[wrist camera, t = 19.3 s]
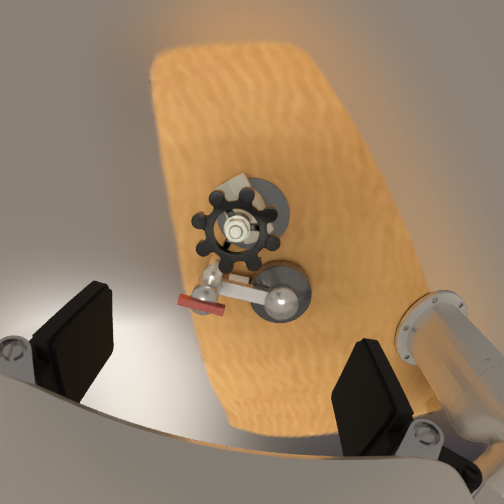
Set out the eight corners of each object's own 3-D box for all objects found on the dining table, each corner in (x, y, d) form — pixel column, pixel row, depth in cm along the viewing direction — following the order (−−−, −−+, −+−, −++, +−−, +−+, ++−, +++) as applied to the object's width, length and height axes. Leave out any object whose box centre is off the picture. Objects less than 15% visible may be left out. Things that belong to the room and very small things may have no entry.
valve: (258, 163, 31) (254, 169, 20) (286, 217, 33) (297, 251, 22) (205, 192, 33) (173, 214, 21) (234, 243, 34) (219, 289, 23)
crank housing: (315, 266, 35) (326, 292, 29) (299, 316, 37) (305, 349, 31) (215, 245, 35) (203, 267, 28) (205, 297, 37) (194, 328, 30)
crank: (300, 287, 33) (307, 314, 27) (291, 314, 34) (295, 344, 29) (194, 261, 33) (180, 284, 27) (189, 290, 34) (175, 316, 28)
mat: (296, 187, 32) (296, 187, 32) (279, 254, 35) (279, 256, 34) (224, 171, 32) (224, 171, 32) (211, 240, 35) (211, 241, 34)
